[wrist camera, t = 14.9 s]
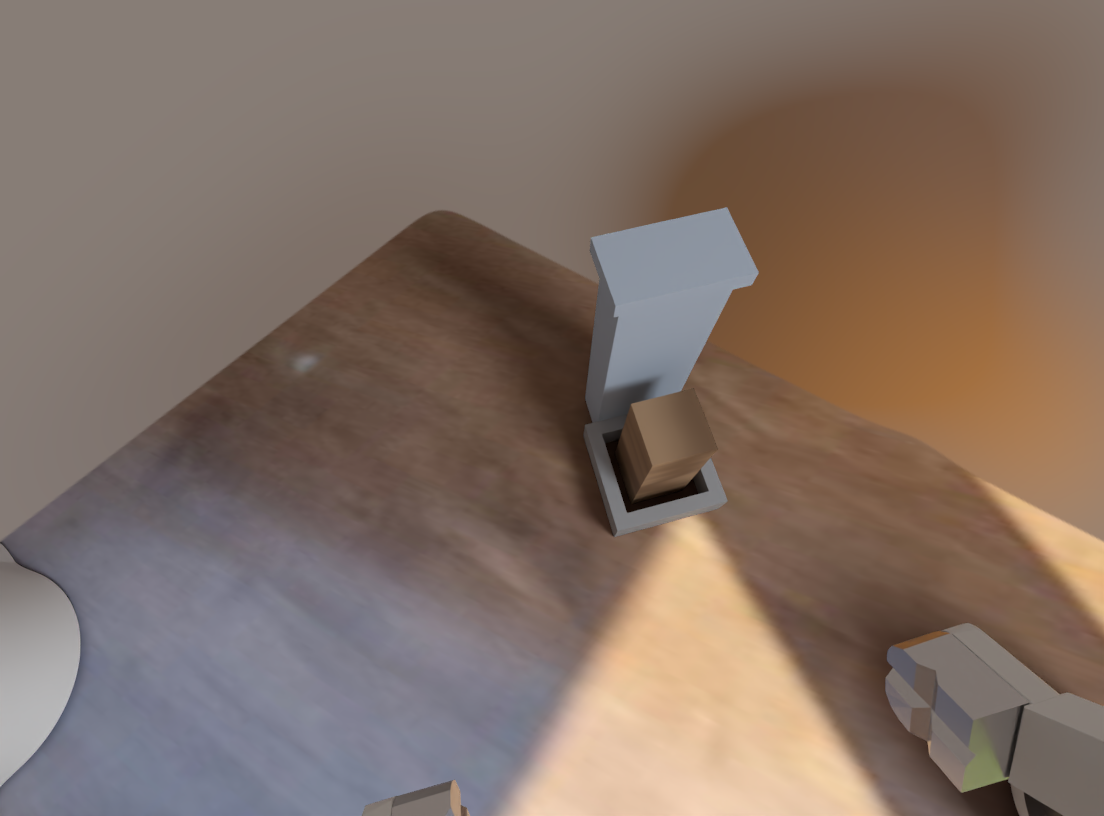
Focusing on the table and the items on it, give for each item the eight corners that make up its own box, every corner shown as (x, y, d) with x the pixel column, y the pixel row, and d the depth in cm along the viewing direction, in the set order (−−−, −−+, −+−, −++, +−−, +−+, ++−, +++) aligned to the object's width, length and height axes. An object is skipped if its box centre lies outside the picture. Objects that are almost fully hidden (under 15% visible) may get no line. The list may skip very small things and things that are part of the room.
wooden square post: (630, 504, 41) (652, 466, 32) (614, 454, 43) (630, 403, 33) (681, 490, 42) (717, 448, 32) (664, 441, 43) (693, 388, 34)
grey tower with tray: (613, 537, 40) (658, 461, 23) (571, 395, 44) (581, 239, 27) (718, 508, 41) (839, 413, 23) (666, 372, 45) (736, 205, 28)
